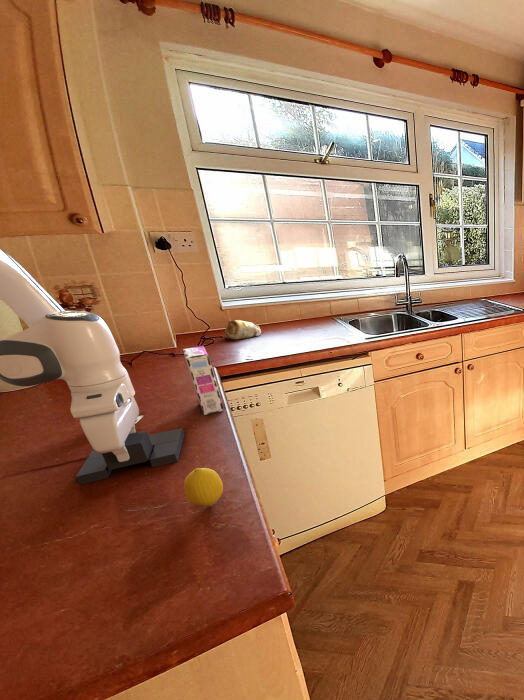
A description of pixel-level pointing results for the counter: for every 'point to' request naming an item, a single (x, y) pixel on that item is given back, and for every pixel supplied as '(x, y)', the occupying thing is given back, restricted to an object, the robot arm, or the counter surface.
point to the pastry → (241, 330)
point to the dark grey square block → (131, 451)
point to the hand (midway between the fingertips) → (129, 451)
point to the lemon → (203, 487)
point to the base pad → (162, 453)
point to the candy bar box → (203, 380)
